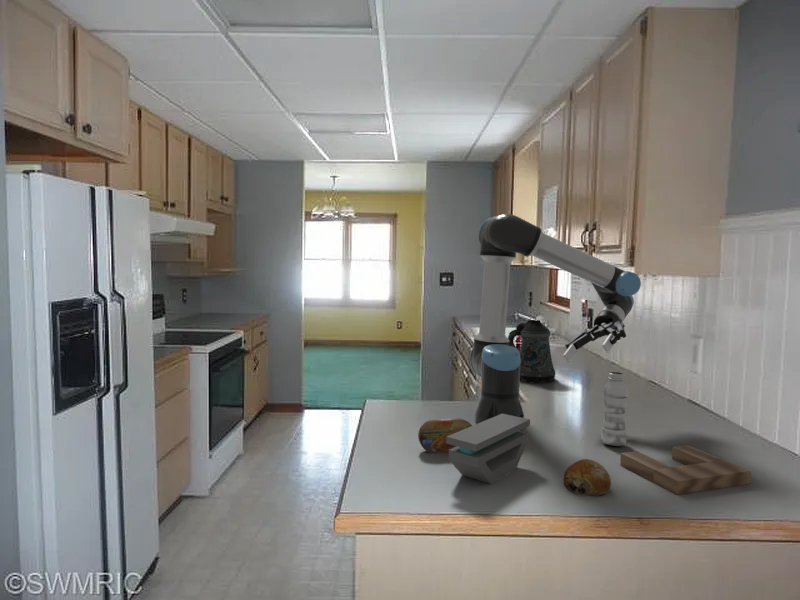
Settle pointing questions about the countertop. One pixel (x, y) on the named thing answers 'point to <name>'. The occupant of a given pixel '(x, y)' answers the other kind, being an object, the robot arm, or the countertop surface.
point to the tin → (440, 433)
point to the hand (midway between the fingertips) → (585, 353)
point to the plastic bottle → (614, 410)
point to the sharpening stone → (489, 447)
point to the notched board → (687, 470)
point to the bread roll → (587, 478)
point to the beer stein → (534, 352)
